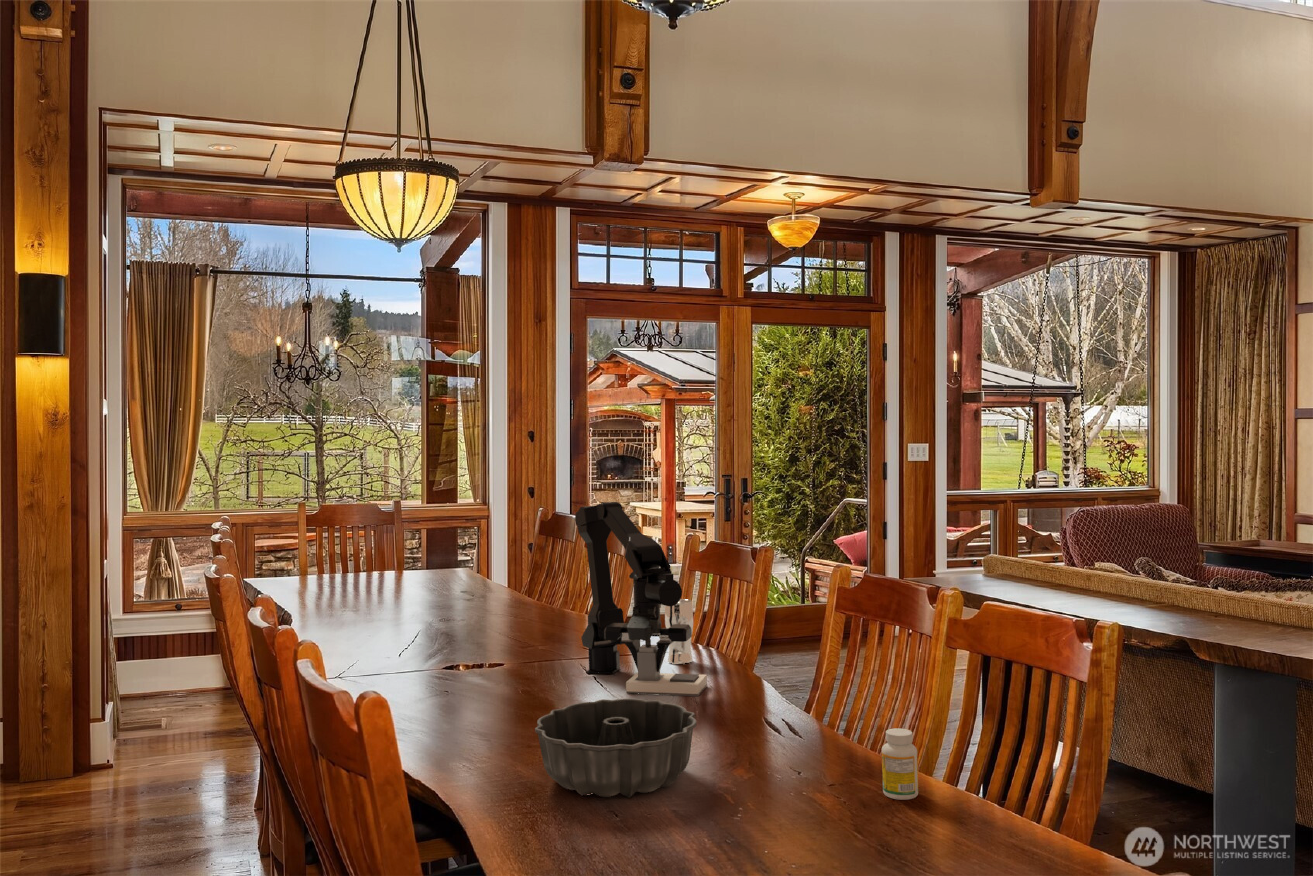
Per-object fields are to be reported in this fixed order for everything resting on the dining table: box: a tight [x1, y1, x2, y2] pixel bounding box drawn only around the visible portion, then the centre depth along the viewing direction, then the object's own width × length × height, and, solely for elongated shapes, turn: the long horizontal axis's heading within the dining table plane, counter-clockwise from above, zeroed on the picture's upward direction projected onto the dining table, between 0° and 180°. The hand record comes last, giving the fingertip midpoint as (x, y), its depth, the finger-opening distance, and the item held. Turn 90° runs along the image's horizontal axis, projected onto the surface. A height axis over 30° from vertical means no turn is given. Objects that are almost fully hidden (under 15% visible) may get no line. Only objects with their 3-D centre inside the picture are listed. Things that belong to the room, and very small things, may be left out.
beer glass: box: [664, 598, 694, 665], centre depth 253 cm, size 7×7×15 cm
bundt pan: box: [534, 698, 697, 798], centre depth 168 cm, size 26×26×10 cm
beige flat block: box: [625, 672, 708, 697], centre depth 226 cm, size 16×9×3 cm, turn 75°
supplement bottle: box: [881, 727, 919, 801], centre depth 158 cm, size 5×5×10 cm
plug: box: [637, 638, 661, 681], centre depth 227 cm, size 4×4×10 cm
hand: (648, 671), depth 227 cm, fingers closed on plug, 4 cm apart
